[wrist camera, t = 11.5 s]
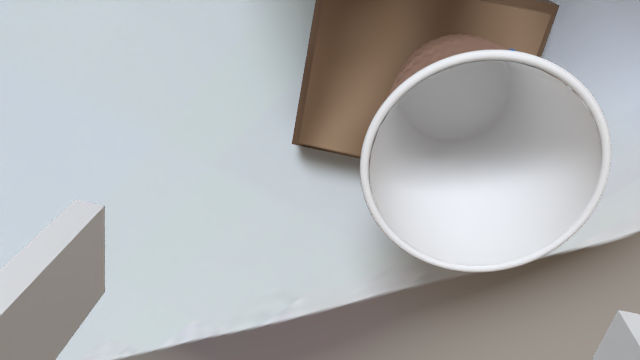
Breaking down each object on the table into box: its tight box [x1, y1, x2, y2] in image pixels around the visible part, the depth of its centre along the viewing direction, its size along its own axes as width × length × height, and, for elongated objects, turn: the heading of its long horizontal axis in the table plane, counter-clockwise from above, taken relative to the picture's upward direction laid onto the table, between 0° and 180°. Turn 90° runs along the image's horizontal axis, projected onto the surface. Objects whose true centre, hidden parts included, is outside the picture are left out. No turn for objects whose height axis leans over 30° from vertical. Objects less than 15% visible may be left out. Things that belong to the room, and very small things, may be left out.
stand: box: [292, 0, 559, 158], centre depth 36 cm, size 14×12×3 cm
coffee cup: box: [360, 34, 611, 272], centre depth 29 cm, size 10×10×12 cm
